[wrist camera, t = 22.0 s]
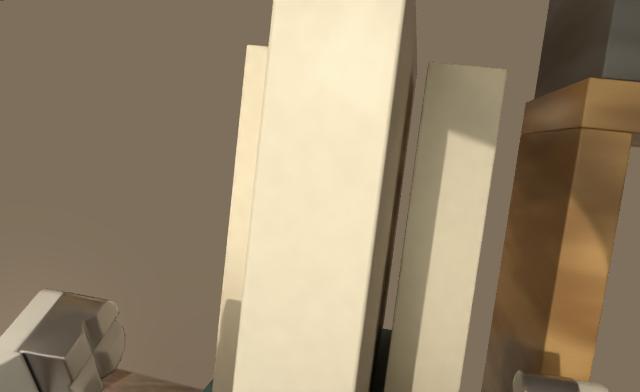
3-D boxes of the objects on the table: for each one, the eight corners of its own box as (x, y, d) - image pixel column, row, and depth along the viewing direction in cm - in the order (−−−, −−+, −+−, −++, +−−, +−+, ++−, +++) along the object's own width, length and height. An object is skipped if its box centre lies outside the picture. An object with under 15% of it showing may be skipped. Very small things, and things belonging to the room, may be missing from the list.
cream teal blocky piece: (167, 742, 21) (236, 43, 19) (245, 554, 31) (298, 78, 28) (406, 814, 20) (520, 70, 17) (409, 594, 30) (482, 97, 27)
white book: (210, 588, 12) (280, -76, 10) (338, 314, 30) (369, 67, 29) (325, 618, 11) (415, -68, 10) (383, 322, 30) (417, 72, 28)
